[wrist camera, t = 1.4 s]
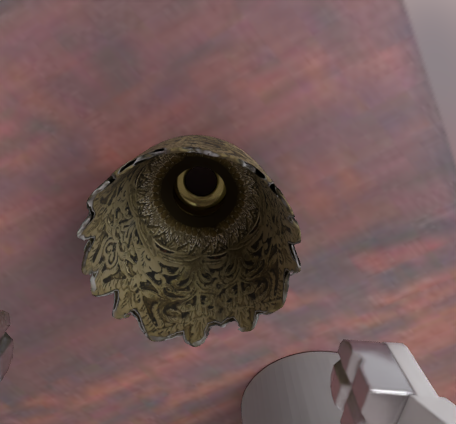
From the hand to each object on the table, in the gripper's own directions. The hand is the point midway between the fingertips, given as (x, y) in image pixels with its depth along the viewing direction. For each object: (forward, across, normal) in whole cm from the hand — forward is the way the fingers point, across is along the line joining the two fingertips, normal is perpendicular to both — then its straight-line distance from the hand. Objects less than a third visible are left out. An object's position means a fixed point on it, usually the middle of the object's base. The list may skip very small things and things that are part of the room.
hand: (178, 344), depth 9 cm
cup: (+12, 0, 0) cm, 12 cm away
